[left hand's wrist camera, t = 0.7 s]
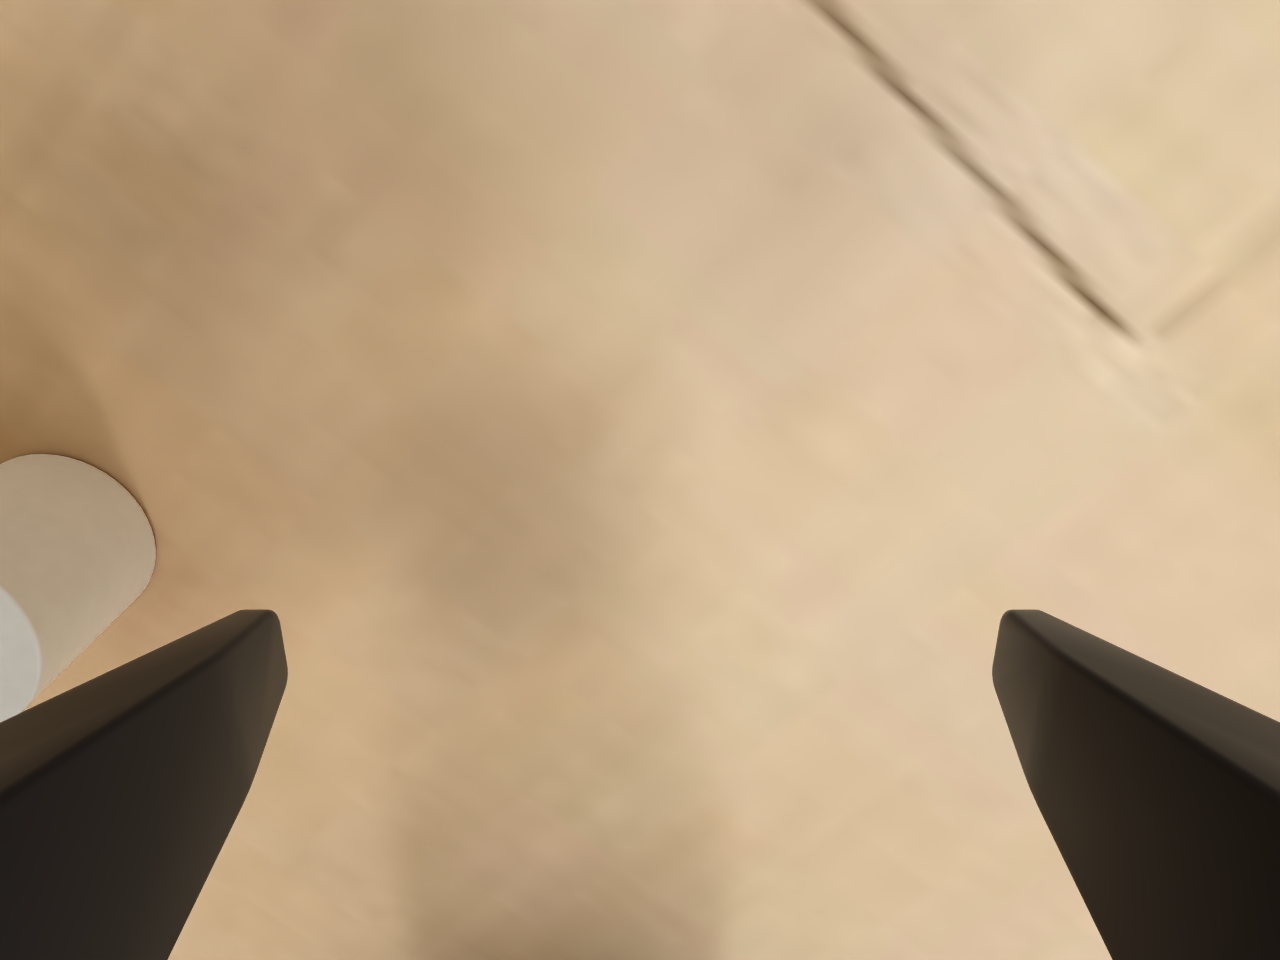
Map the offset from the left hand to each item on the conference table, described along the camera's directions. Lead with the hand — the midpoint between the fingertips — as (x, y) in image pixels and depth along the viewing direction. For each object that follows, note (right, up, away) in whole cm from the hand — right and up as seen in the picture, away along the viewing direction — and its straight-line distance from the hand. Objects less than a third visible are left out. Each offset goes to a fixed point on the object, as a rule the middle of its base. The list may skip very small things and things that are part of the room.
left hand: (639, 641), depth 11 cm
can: (-14, +1, +11) cm, 18 cm away
